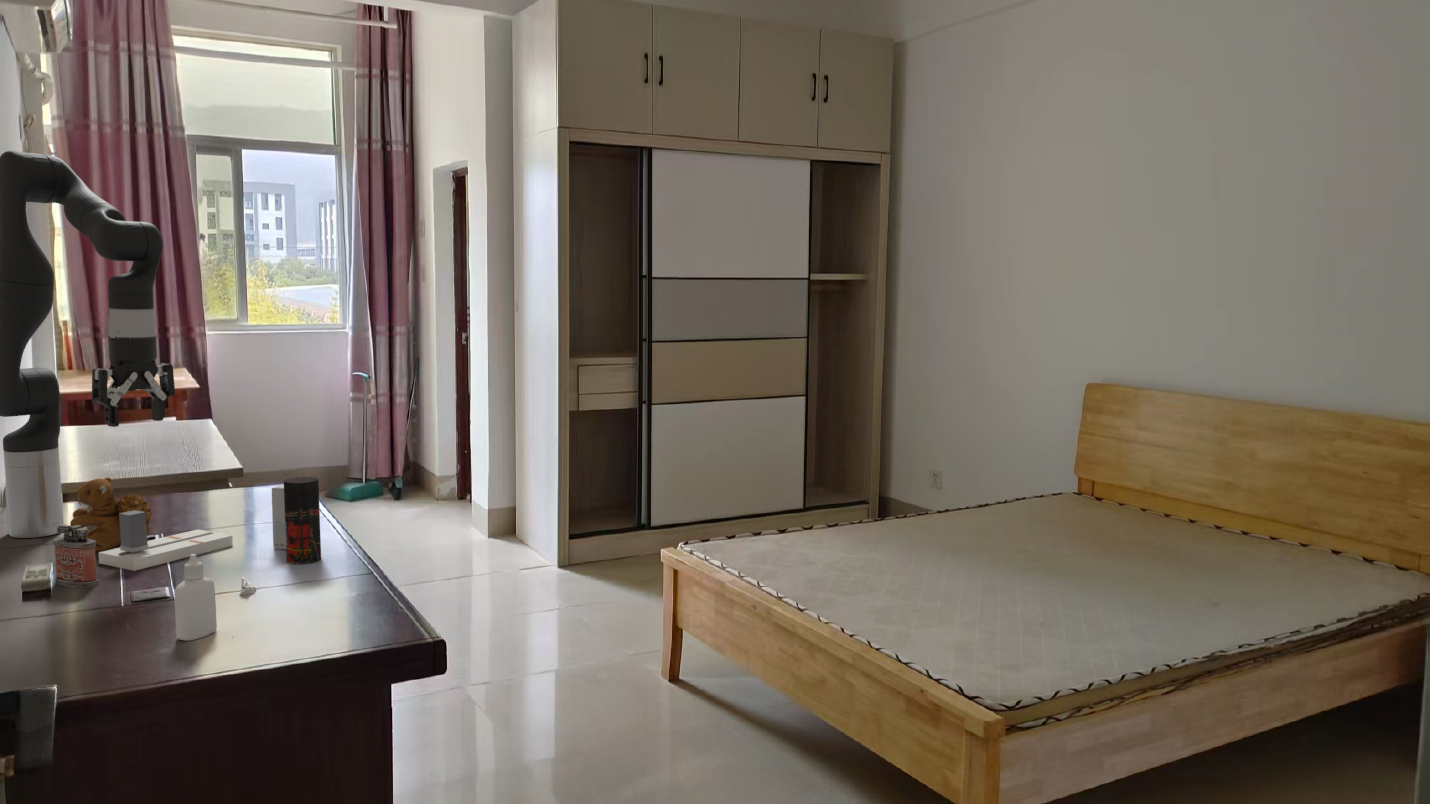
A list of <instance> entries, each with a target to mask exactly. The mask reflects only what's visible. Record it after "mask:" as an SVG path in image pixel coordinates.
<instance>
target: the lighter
mask: <svg viewBox="0 0 1430 804" xmlns="http://www.w3.org/2000/svg"><path fill="white" fill-rule="evenodd" d="M57 534H63V536H61V537H57V538H54V539H52V545H54V558H55V571H56V572H55V573H56V577H55V578H54V579H55V580H54V582H55V584H57V585H60V586H64V587H71V588H82V589H84V588H91V587H92V588H93V587H96V586H98V585H99V578H97V562H96V560H97V559H96V551H95V546H96V541H95V540H92V539H87V537H88V529H87V528H86V527H84V528H82V526H81V525H75V526H71V525H70V524H68V525H67V524H64V525H58V527H57Z"/></svg>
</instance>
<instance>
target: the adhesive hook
mask: <svg viewBox="0 0 1430 804" xmlns="http://www.w3.org/2000/svg"><path fill="white" fill-rule="evenodd" d="M250 583H251V582H250V581H249V578H248V577H247V578H246V580H245V576H242V577H241V587H240V588H241V589H240V593H239V596H245V595H249V594H255V592H256V591H257V589H256V586H255V585H251V586H250Z"/></svg>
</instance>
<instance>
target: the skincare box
mask: <svg viewBox="0 0 1430 804" xmlns="http://www.w3.org/2000/svg"><path fill="white" fill-rule="evenodd" d="M271 507H272V511H271V512H272V513H271V514H272V545H273V546H272V547H273V549H275V550H276V549H277V550H286V531H285V505H284V483H282V484H279V485H277V486H274V487H272V488H271Z"/></svg>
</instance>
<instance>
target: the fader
mask: <svg viewBox="0 0 1430 804" xmlns="http://www.w3.org/2000/svg"><path fill="white" fill-rule="evenodd" d="M119 519H120V537H121V545H120V546H119V548H120V550H122V551H127V552H132V553H133V552H138V551H142V550H146V549H149V547H148V544H147V541H148V535H147V529H146V512H142V511H137V510H134V511H129V512H124V513H119Z"/></svg>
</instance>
